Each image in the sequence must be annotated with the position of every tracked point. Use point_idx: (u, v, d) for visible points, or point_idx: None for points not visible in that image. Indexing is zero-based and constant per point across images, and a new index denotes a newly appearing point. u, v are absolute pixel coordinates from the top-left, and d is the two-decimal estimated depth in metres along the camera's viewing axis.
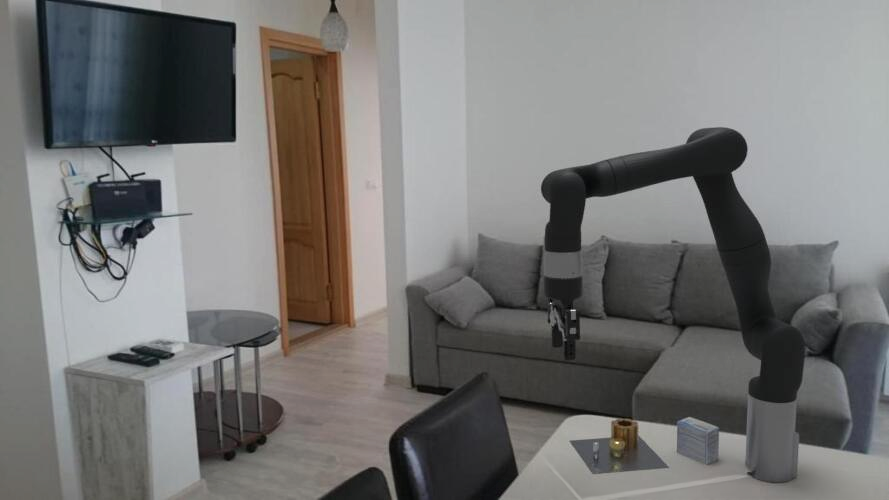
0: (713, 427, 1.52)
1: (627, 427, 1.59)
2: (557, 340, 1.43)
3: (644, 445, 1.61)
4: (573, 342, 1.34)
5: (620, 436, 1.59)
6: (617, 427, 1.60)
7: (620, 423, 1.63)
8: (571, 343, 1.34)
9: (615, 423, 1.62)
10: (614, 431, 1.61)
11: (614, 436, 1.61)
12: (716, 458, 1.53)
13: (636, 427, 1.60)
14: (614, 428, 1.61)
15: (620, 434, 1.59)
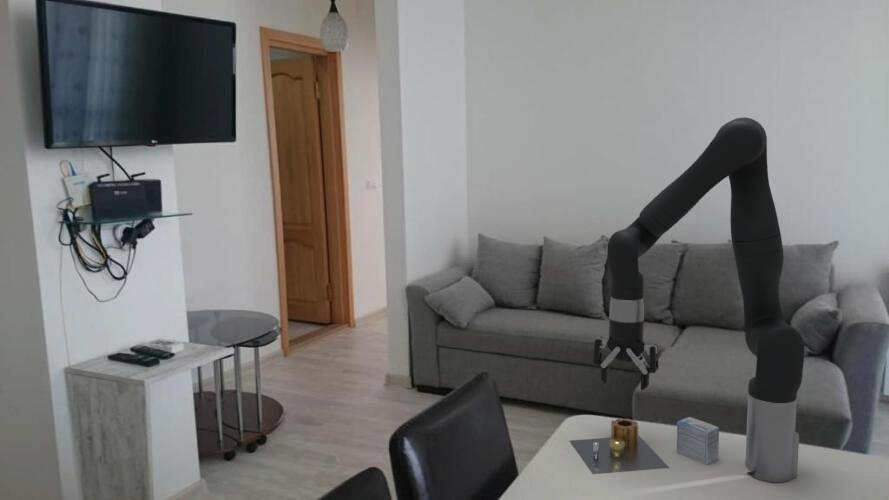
0: (713, 427, 1.52)
1: (627, 427, 1.59)
2: None
3: (644, 445, 1.61)
4: None
5: (620, 436, 1.59)
6: (617, 427, 1.60)
7: (620, 423, 1.63)
8: None
9: (615, 423, 1.62)
10: (614, 431, 1.61)
11: (614, 436, 1.61)
12: (716, 458, 1.53)
13: (636, 427, 1.60)
14: (614, 428, 1.61)
15: (620, 434, 1.59)
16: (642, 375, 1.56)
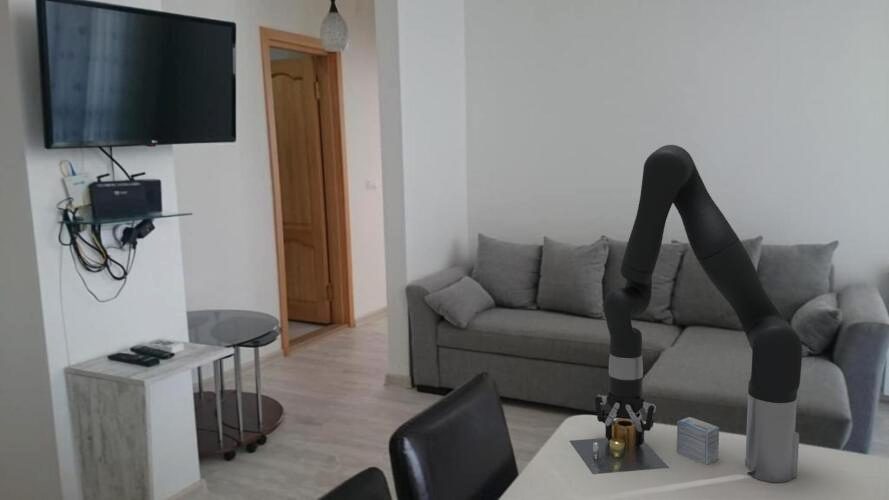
0: (713, 427, 1.52)
1: (627, 427, 1.59)
2: None
3: (644, 445, 1.61)
4: None
5: (620, 436, 1.59)
6: (617, 427, 1.60)
7: (620, 423, 1.63)
8: None
9: (615, 423, 1.62)
10: (614, 431, 1.61)
11: (614, 436, 1.61)
12: (716, 458, 1.53)
13: None
14: (614, 428, 1.61)
15: (620, 434, 1.59)
16: (637, 432, 1.59)
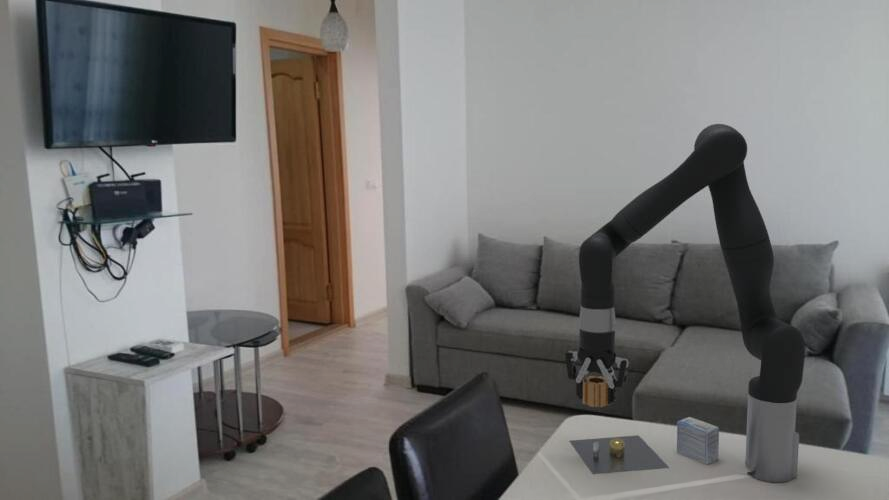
0: (713, 427, 1.52)
1: (598, 383, 1.51)
2: None
3: (644, 445, 1.61)
4: None
5: (591, 393, 1.51)
6: (588, 384, 1.51)
7: (592, 380, 1.54)
8: None
9: (586, 380, 1.53)
10: (585, 388, 1.52)
11: (585, 393, 1.52)
12: (716, 458, 1.53)
13: None
14: (585, 385, 1.52)
15: (591, 391, 1.51)
16: (609, 389, 1.50)
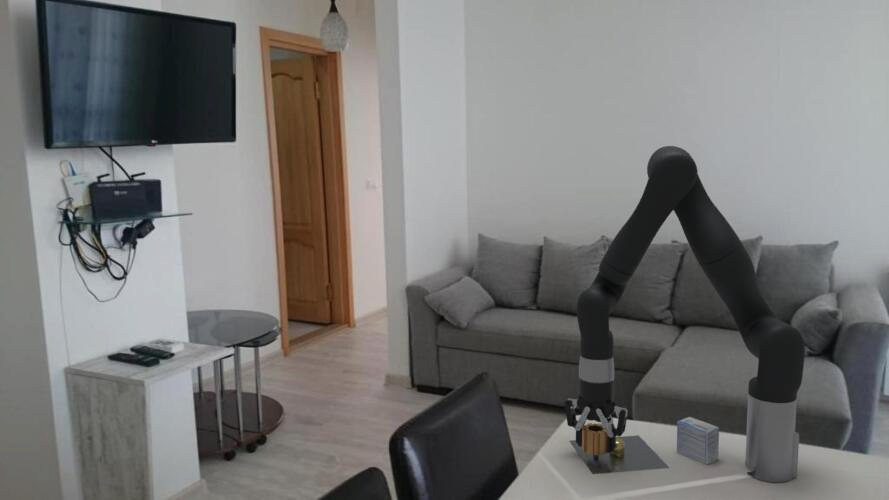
0: (713, 427, 1.52)
1: (598, 432, 1.52)
2: None
3: (644, 445, 1.61)
4: None
5: (590, 442, 1.52)
6: (587, 432, 1.53)
7: (591, 428, 1.56)
8: None
9: (585, 428, 1.55)
10: (584, 436, 1.54)
11: (584, 441, 1.54)
12: (716, 458, 1.53)
13: None
14: (584, 433, 1.53)
15: (590, 440, 1.52)
16: (608, 438, 1.52)
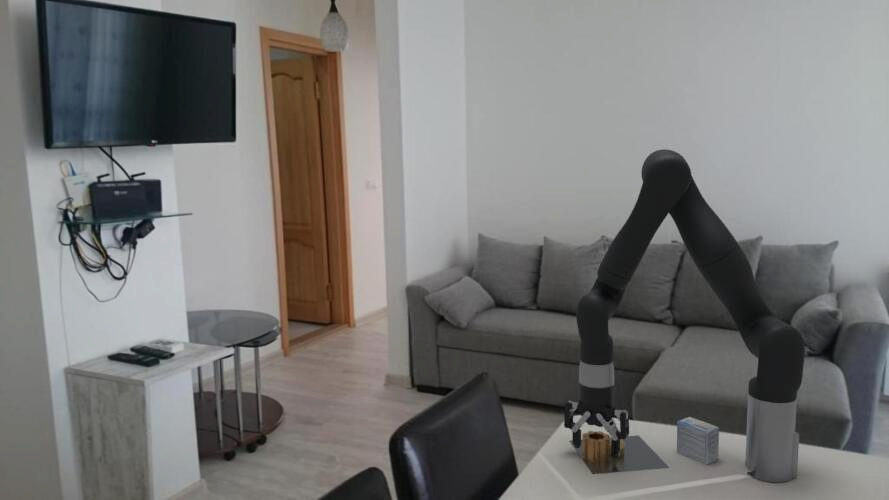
0: (713, 427, 1.52)
1: (598, 440, 1.53)
2: None
3: (644, 445, 1.61)
4: None
5: (591, 450, 1.53)
6: (588, 440, 1.53)
7: (592, 436, 1.56)
8: None
9: (586, 436, 1.55)
10: (585, 444, 1.54)
11: (585, 450, 1.54)
12: (716, 458, 1.53)
13: (608, 440, 1.53)
14: (585, 441, 1.54)
15: (591, 448, 1.53)
16: (612, 441, 1.52)
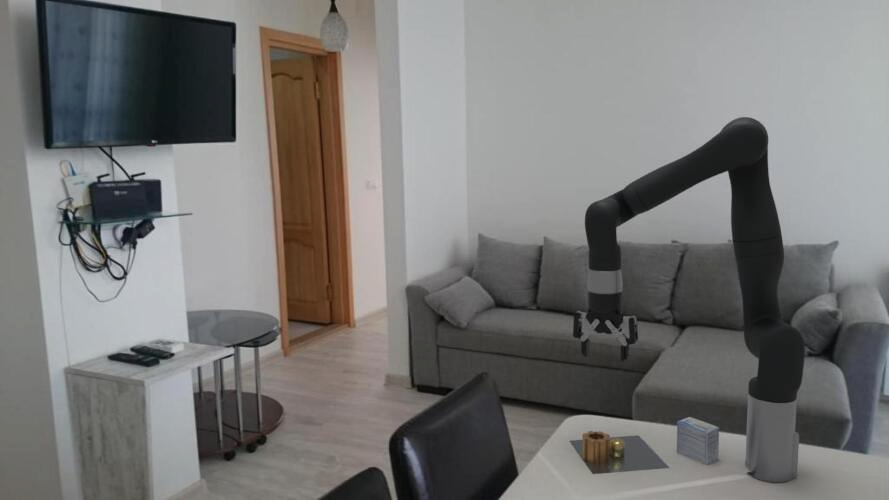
0: (713, 427, 1.52)
1: (598, 440, 1.53)
2: None
3: (644, 445, 1.61)
4: None
5: (591, 450, 1.53)
6: (588, 440, 1.53)
7: (592, 436, 1.56)
8: None
9: (586, 436, 1.55)
10: (585, 444, 1.54)
11: (585, 450, 1.54)
12: (716, 458, 1.53)
13: (608, 440, 1.53)
14: (585, 441, 1.54)
15: (591, 448, 1.53)
16: (622, 347, 1.55)
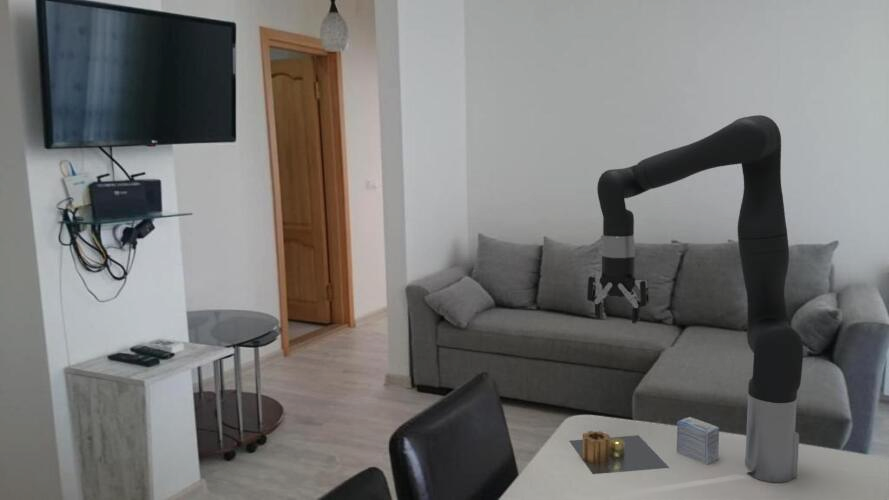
0: (713, 427, 1.52)
1: (598, 440, 1.53)
2: None
3: (644, 445, 1.61)
4: None
5: (591, 450, 1.53)
6: (588, 440, 1.53)
7: (592, 436, 1.56)
8: None
9: (586, 436, 1.55)
10: (585, 444, 1.54)
11: (585, 450, 1.54)
12: (716, 458, 1.53)
13: (608, 440, 1.53)
14: (585, 441, 1.54)
15: (591, 448, 1.53)
16: (633, 309, 1.64)
